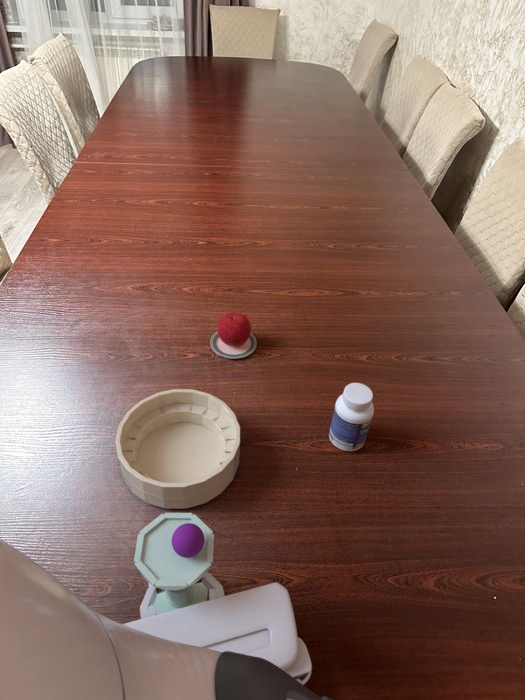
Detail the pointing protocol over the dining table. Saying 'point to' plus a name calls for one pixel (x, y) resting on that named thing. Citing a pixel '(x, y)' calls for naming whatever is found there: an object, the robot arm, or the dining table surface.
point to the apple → (233, 337)
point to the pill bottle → (352, 417)
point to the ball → (188, 540)
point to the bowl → (178, 448)
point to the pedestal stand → (173, 562)
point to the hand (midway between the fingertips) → (175, 567)
